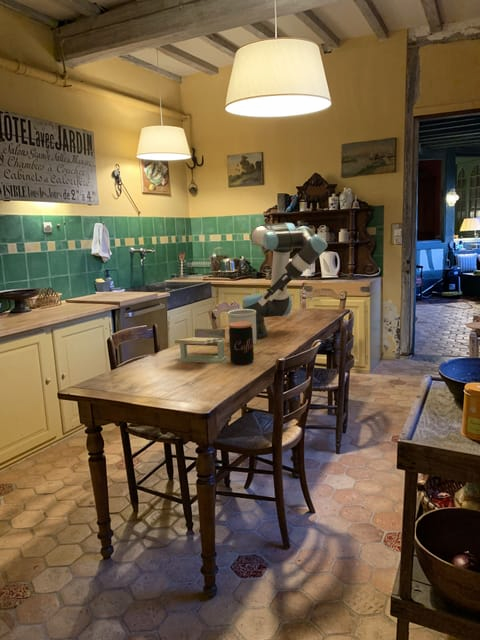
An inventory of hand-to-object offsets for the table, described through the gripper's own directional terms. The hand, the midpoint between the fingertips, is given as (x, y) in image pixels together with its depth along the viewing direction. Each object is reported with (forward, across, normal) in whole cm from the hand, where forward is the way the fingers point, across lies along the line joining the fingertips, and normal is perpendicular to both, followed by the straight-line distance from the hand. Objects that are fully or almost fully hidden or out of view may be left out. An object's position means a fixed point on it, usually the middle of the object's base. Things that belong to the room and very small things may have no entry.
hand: (264, 301), depth 217 cm
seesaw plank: (+37, 0, +8) cm, 38 cm away
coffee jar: (+28, 0, -12) cm, 31 cm away
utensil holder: (+36, +33, -4) cm, 49 cm away
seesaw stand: (+42, +1, +3) cm, 43 cm away
